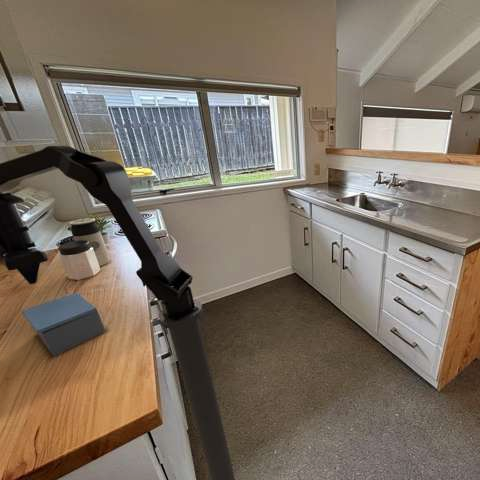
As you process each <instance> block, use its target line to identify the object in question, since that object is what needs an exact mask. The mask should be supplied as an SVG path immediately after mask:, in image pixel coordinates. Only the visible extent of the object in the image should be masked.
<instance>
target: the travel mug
mask: <svg viewBox="0 0 480 480" xmlns="http://www.w3.org/2000/svg"><path fill="white" fill-rule="evenodd" d="M68 224H69V225H70V226H71V231H70V232H71V235H72V238H73V240H74V241H80V240H87V241H89V243H90V246H91V248H93V250H94V252H95V255H96V258H97V261H98V264H99V266H100V267H102V266H103V267H104V266H105V265H107V264H109V263H110V262H111V259H110V256H109V253H108V250H107V248H106V247H105V244H104V241H103V238H102V235H101V233H102V232H100V229H99V227H98V226H99V225H98V226H97V225H96V224H95V219H94V218H91V217H87V218H86V217H85V218H79V219H75V220H71V221H69V222H68Z"/></svg>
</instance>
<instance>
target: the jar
mask: <svg viewBox="0 0 480 480" xmlns="http://www.w3.org/2000/svg"><path fill="white" fill-rule="evenodd" d="M57 249H58V251H59V256H58V257H59V258H60V261H61V263H62V265H63V268H64V270H65V273H66V275H67V277H68V279H70V280H75V281H80V280H84V279H88V278H92V277H94V276H96V275H97V274H99V272H100V271H102V269H101V266H99V264H98V261H97V258H96V255H95V252H94V250H93V248H91V246H90V243H89V241H87V240H80V241H75V240H74V241H69V242H66V243H63V244H60V245H59V246H58V247H57Z"/></svg>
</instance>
